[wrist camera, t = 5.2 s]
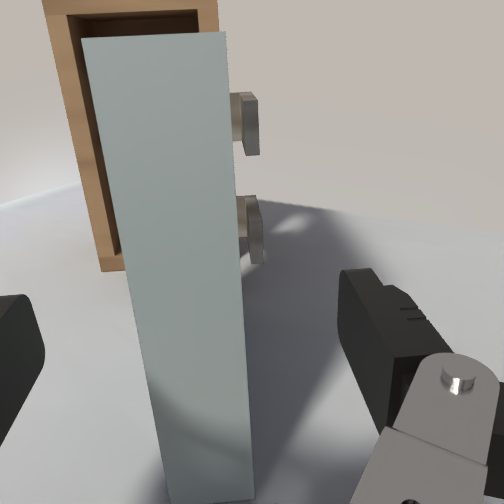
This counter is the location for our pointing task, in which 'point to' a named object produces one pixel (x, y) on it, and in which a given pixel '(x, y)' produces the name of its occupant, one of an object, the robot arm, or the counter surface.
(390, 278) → the counter surface
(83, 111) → the cabinet
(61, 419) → the counter surface
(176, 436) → the door
